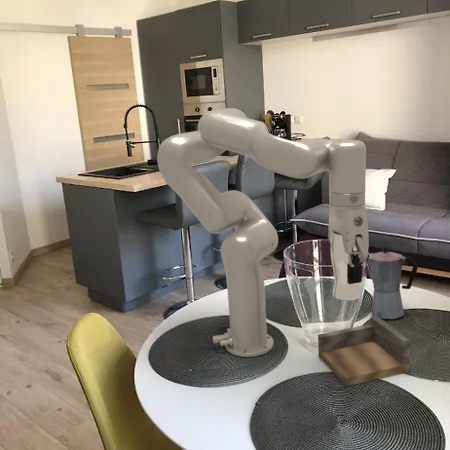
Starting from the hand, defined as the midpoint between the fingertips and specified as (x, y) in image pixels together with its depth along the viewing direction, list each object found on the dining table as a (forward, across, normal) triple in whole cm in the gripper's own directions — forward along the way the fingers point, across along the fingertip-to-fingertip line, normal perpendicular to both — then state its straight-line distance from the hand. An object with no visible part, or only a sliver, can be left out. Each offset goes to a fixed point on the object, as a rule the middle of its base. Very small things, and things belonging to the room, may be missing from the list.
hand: (346, 276), depth 114 cm
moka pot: (+23, +22, -26) cm, 41 cm away
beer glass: (+5, 0, 0) cm, 5 cm away
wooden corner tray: (+23, +1, -5) cm, 24 cm away
